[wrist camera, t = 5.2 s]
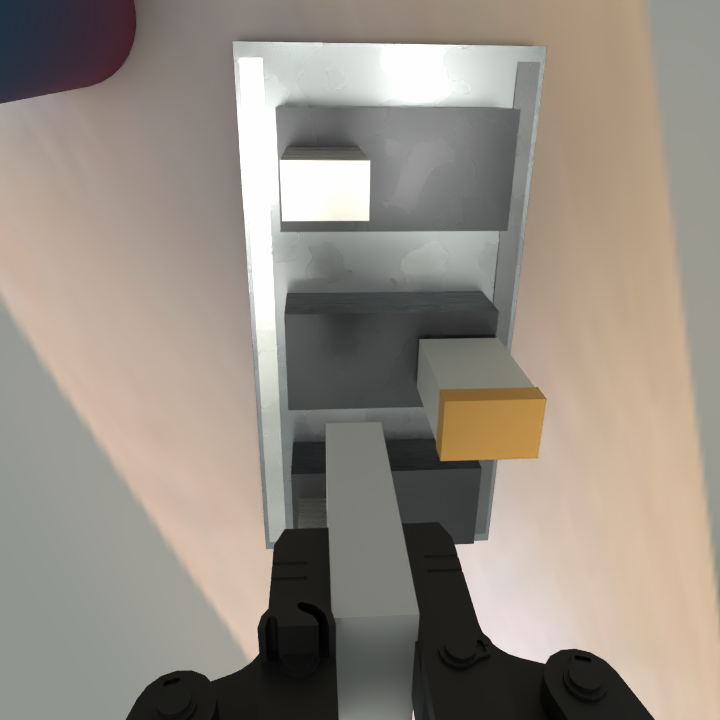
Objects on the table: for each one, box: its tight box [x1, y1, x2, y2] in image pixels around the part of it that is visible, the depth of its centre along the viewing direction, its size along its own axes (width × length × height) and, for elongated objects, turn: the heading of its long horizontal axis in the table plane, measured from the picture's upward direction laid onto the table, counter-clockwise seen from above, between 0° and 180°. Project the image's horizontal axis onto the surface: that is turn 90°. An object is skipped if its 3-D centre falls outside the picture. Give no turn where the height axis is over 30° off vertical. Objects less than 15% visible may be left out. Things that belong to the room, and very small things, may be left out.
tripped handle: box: [417, 338, 546, 461], centre depth 21 cm, size 2×3×5 cm
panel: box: [233, 41, 547, 549], centre depth 23 cm, size 22×11×8 cm, turn 179°
